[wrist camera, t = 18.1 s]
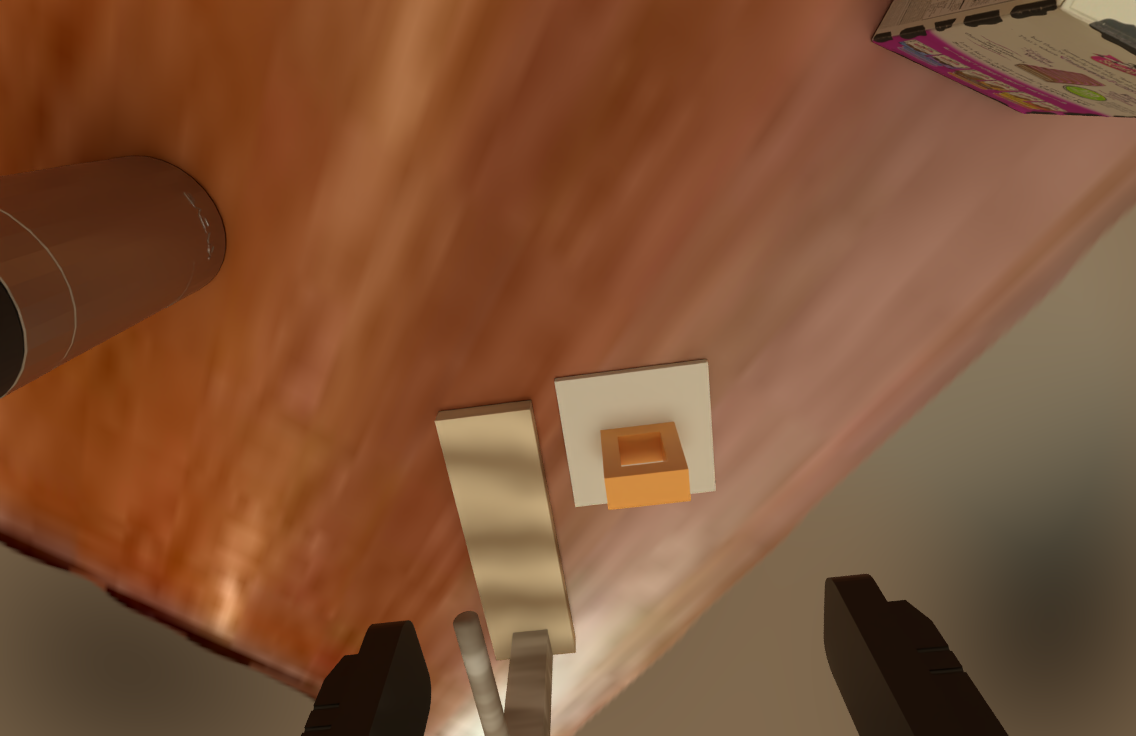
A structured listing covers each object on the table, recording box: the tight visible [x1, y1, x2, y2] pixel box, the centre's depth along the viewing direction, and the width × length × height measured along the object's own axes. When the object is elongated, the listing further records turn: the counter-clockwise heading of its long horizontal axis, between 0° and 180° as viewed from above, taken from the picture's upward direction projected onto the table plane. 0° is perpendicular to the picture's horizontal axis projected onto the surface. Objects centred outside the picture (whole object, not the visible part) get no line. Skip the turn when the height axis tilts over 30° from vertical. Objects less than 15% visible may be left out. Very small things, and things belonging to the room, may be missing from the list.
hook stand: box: [435, 400, 576, 736], centre depth 44 cm, size 24×7×18 cm, turn 8°
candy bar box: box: [872, 0, 1136, 118], centre depth 30 cm, size 11×5×16 cm, turn 69°
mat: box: [555, 359, 716, 507], centre depth 48 cm, size 11×11×1 cm
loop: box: [600, 422, 691, 510], centre depth 45 cm, size 6×2×6 cm, turn 98°
